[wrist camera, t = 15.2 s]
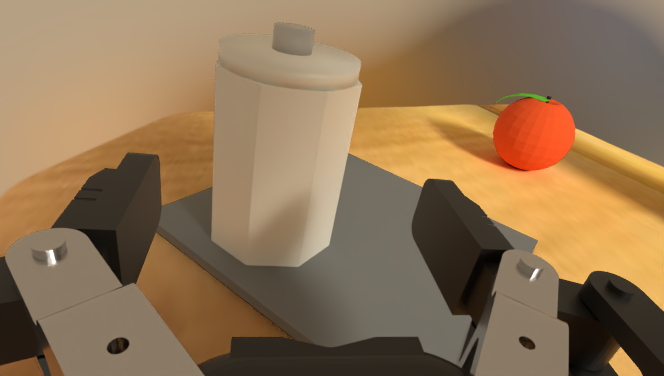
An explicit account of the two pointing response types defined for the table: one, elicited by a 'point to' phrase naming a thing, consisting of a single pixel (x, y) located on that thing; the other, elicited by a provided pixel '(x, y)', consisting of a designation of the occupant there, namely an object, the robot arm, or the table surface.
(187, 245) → the mat
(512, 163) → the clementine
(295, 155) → the white lidded jar
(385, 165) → the table surface
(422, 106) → the table surface
